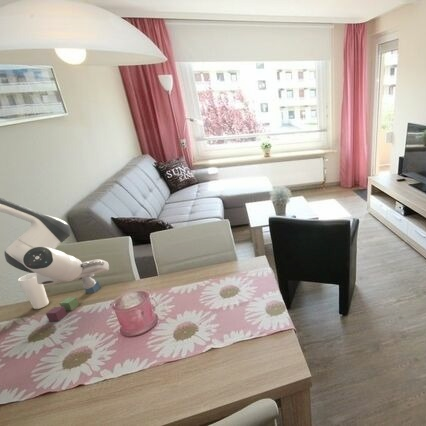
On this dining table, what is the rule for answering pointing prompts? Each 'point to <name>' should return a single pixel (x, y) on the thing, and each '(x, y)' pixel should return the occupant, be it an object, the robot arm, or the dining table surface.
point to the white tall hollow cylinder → (33, 290)
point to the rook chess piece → (88, 282)
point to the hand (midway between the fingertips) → (85, 276)
